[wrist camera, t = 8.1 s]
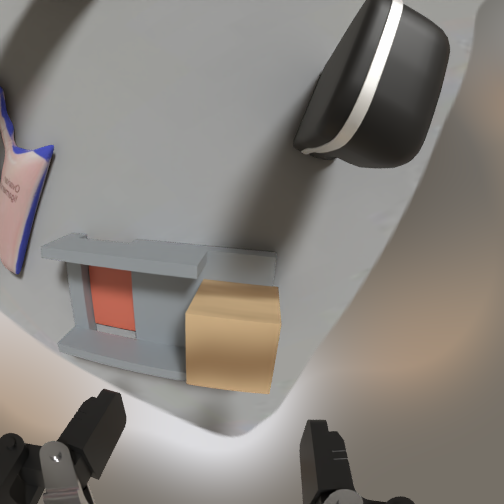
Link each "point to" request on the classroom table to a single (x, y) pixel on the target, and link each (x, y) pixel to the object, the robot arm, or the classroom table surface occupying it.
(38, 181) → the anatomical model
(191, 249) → the channel
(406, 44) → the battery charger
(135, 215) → the classroom table surface
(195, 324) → the oak block
